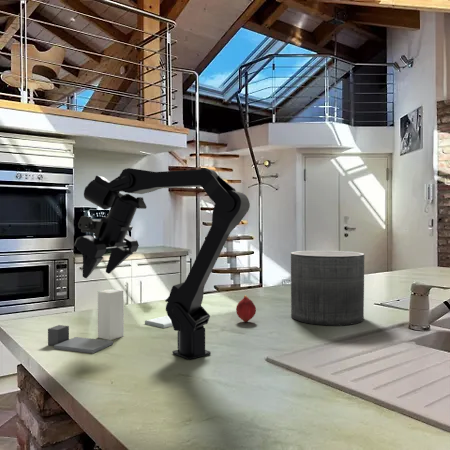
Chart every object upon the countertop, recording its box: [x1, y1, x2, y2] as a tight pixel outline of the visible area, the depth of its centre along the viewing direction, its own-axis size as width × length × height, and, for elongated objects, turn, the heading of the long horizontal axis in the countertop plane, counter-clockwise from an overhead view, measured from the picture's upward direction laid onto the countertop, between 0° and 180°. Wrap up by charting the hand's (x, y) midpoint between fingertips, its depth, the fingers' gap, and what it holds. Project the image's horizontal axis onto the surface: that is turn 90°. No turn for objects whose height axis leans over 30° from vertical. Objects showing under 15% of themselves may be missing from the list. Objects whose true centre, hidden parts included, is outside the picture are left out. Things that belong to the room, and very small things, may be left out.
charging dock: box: [47, 324, 114, 354], centre depth 110 cm, size 14×8×4 cm, turn 70°
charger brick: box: [97, 288, 125, 341], centre depth 118 cm, size 5×5×12 cm
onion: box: [235, 294, 257, 323], centre depth 135 cm, size 6×6×8 cm
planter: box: [290, 250, 365, 327], centre depth 140 cm, size 22×22×20 cm
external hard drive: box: [144, 315, 173, 329], centre depth 135 cm, size 2×8×12 cm
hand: (96, 275), depth 112 cm, fingers open, 9 cm apart
